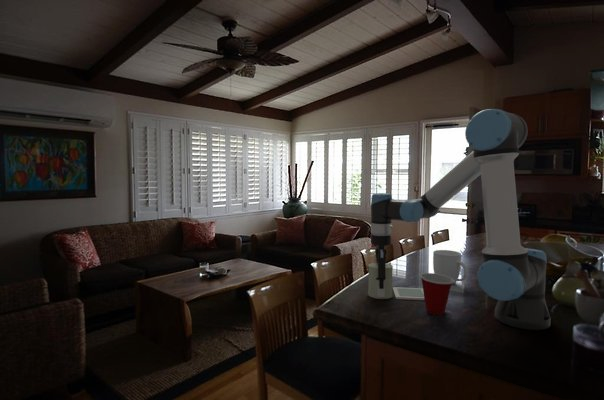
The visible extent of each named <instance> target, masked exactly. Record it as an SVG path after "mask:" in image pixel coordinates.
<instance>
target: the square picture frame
mask: <svg viewBox="0 0 604 400" xmlns="http://www.w3.org/2000/svg"><path fill="white" fill-rule="evenodd" d="M392 292H393V294H394V297H395V300H406V301H407V300H409V301H425V300H424V292H423V287H398V286H396V287H395V286H392Z"/></svg>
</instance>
